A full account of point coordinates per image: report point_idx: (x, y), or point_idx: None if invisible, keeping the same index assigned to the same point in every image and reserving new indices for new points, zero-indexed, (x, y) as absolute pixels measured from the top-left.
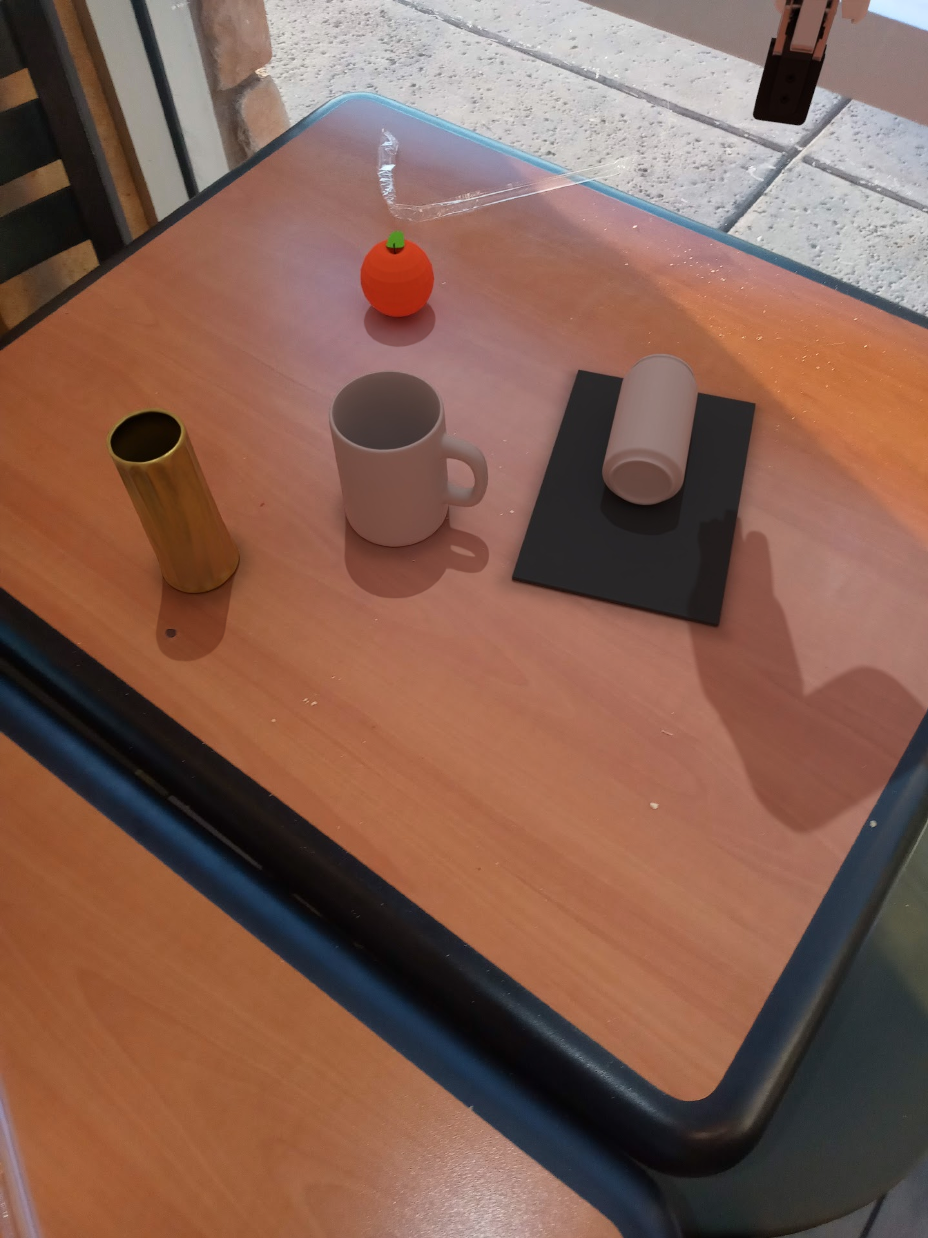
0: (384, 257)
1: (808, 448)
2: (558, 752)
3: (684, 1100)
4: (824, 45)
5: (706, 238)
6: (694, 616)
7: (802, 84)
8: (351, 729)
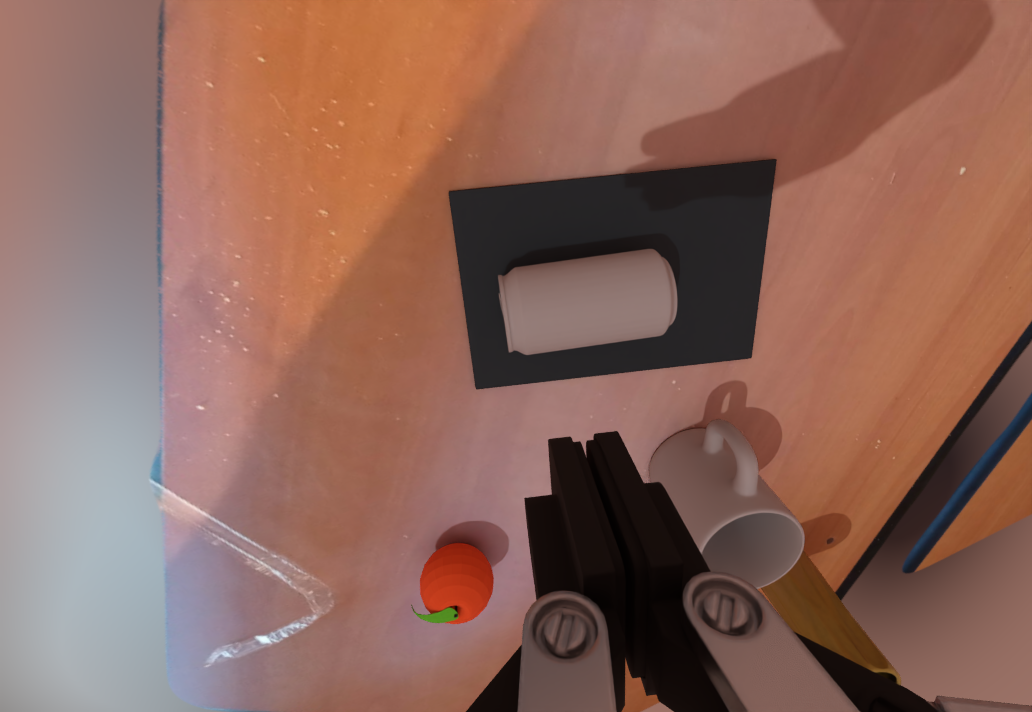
0: (472, 613)
1: (493, 108)
2: (914, 263)
3: None
4: (793, 633)
5: (165, 323)
6: (771, 186)
7: (690, 535)
8: (899, 411)
